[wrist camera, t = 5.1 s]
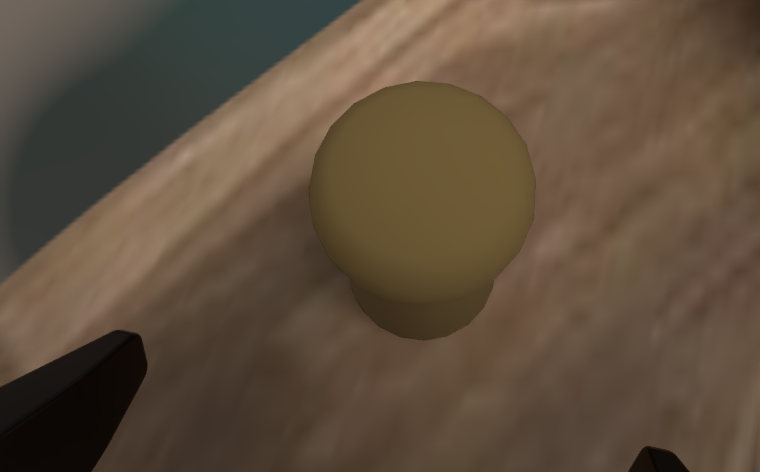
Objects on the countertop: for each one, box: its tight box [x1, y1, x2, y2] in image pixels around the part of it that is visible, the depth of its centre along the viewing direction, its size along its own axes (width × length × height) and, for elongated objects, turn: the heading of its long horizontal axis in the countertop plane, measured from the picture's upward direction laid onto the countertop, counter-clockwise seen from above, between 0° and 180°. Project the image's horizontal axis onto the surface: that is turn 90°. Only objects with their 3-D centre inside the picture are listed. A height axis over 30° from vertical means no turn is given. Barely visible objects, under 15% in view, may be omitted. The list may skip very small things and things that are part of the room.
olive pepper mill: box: [309, 81, 536, 340], centre depth 15 cm, size 6×6×11 cm
